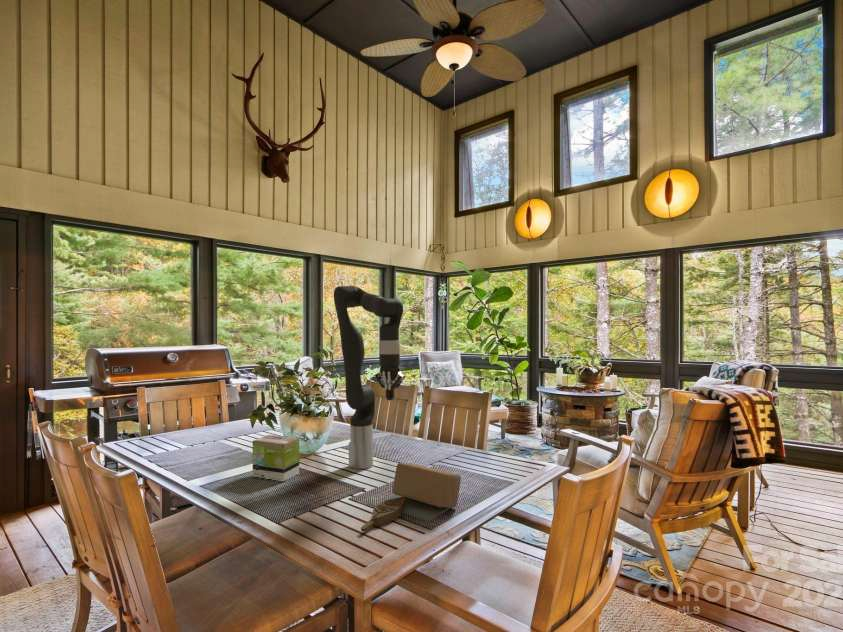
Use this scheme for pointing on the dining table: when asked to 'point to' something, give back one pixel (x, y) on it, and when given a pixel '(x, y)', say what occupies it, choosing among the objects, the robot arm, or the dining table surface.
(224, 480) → the dining table surface
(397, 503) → the leaf carving
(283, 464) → the tea box
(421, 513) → the mat
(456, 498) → the block
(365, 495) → the dining table surface
